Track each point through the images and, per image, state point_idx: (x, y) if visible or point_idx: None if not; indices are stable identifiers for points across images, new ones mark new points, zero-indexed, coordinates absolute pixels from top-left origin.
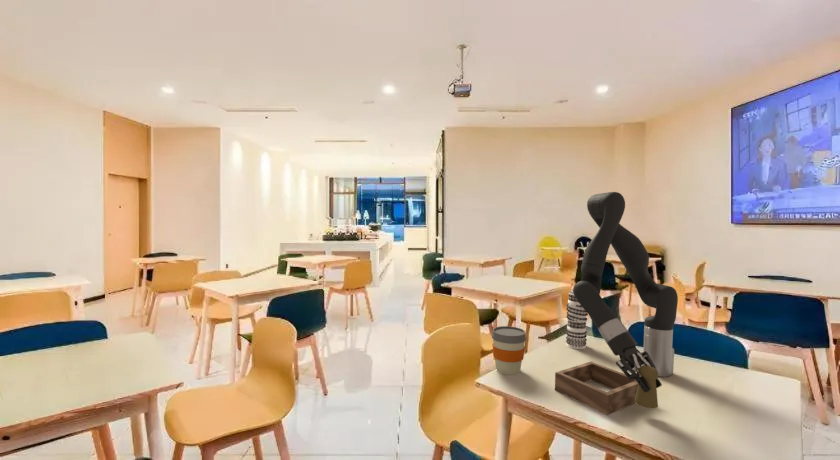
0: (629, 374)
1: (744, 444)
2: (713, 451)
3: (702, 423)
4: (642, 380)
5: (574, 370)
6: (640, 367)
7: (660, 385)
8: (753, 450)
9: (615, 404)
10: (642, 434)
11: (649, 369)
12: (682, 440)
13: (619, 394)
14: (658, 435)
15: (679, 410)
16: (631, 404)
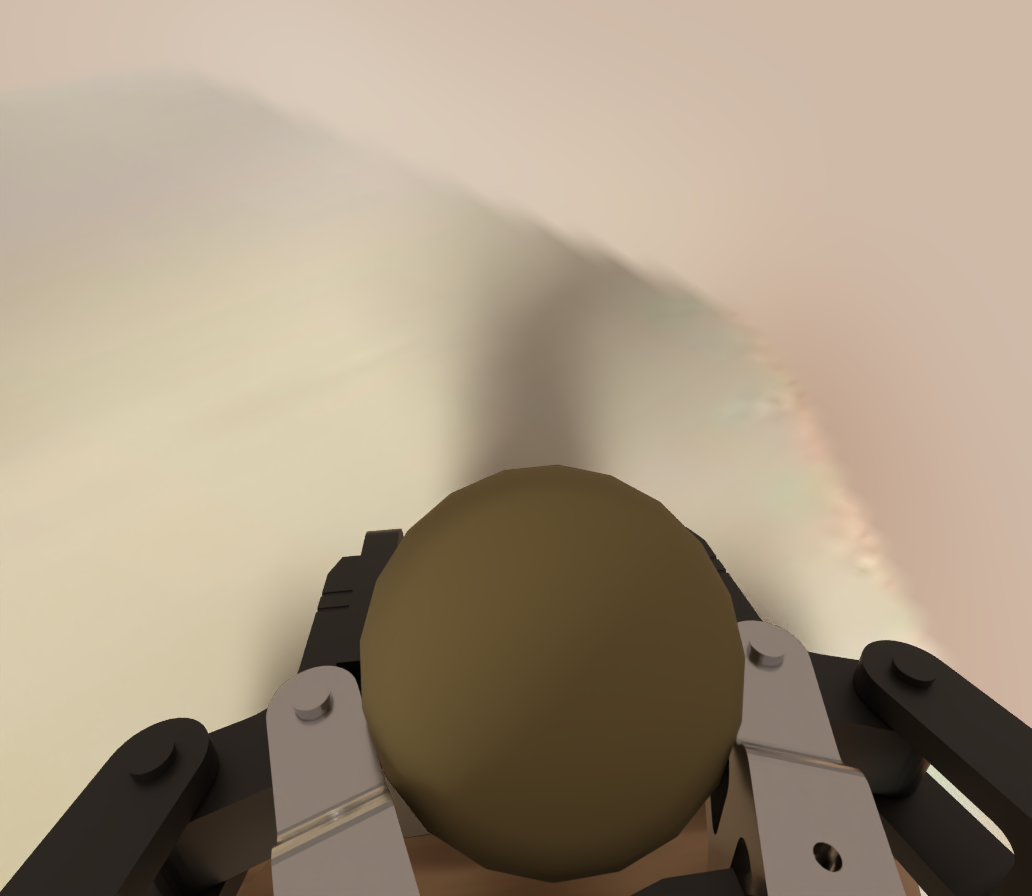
0: (894, 814)
1: (301, 182)
2: (524, 224)
3: (244, 387)
4: None
5: None
6: (705, 782)
7: (401, 530)
8: (327, 144)
9: (700, 824)
10: (741, 484)
11: (653, 556)
12: (572, 342)
13: (673, 870)
14: (656, 433)
15: (168, 567)
16: (427, 835)
